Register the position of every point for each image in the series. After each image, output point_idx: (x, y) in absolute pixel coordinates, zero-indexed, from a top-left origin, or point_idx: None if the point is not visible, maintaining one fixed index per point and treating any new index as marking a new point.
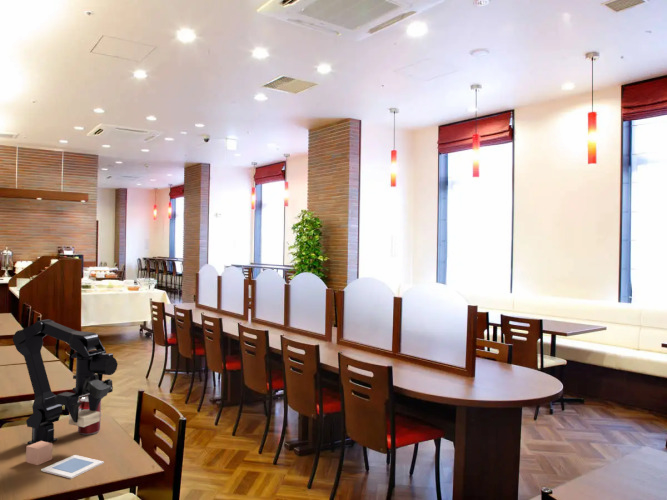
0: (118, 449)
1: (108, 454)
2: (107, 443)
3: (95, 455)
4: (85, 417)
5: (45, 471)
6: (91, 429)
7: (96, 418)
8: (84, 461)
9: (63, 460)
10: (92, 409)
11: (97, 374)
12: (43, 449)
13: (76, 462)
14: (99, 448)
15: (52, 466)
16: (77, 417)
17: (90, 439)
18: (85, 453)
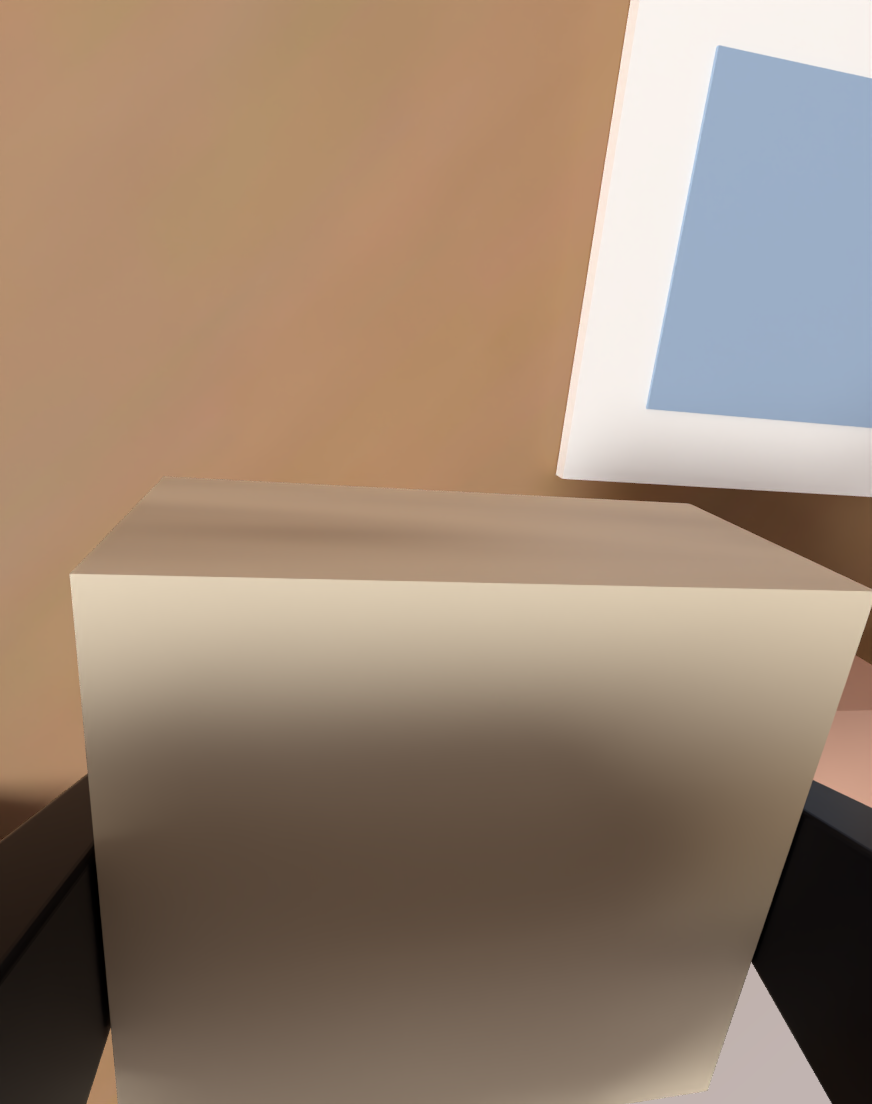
0: (143, 56)
1: (366, 85)
2: (47, 401)
3: (457, 252)
4: (808, 589)
5: None
6: None
7: (285, 511)
8: (717, 198)
9: (722, 469)
10: (80, 985)
11: None
12: (861, 693)
13: (757, 277)
14: (246, 375)
15: (867, 453)
16: (814, 803)
17: (66, 699)
18: (447, 423)
